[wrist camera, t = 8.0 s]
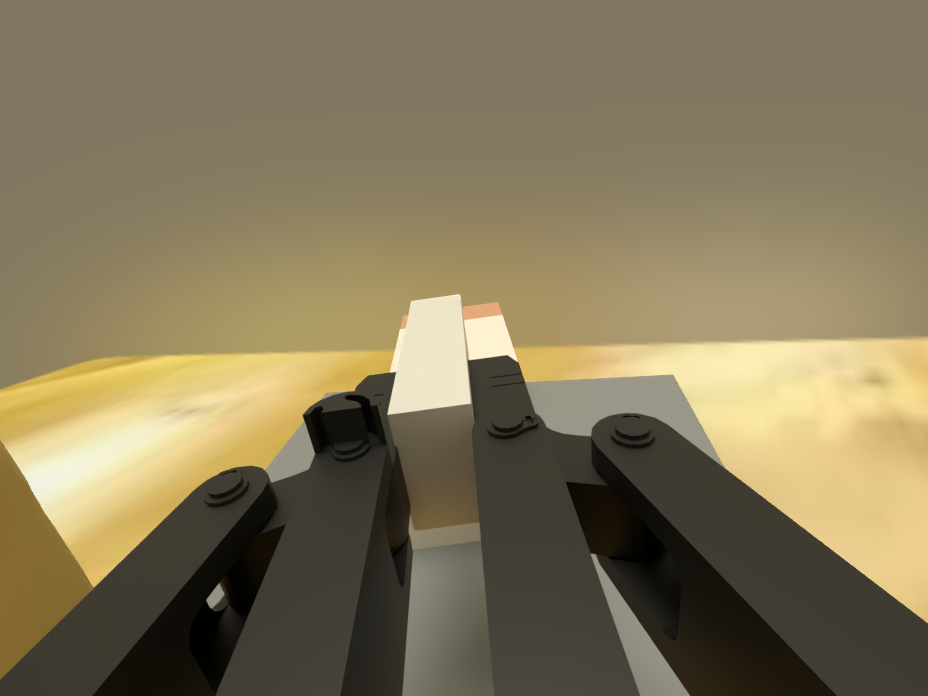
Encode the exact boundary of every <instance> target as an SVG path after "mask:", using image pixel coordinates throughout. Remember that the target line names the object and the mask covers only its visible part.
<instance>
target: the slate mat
mask: <svg viewBox="0 0 928 696" xmlns="http://www.w3.org/2000/svg"><path fill="white" fill-rule="evenodd" d="M525 384H526V387H527V390H528V393H529V396H530V399H531V402H532V405H533V408H534V411H535V413H536V414H538V415H539V416H540V417H541V418H542V420H543V421H544V422H545V425H546V427H547V428H549V429H551V430H553V431H556V432H560V433H563V434H570V435H580V436H591V432H592V427H593V426H594V425H595V424H596V423H597V422H598V421H599V420H601V419H603V418H605V417H608V416H610V415H615V414H622V413H638V414H643V415H647V416H651V417H655V418H657V419H659V420H660V421H662V422H664V423H666V424H668V425H669V426H670V427H672V428H673V429H674V430H675V431H677V432H678V433H679V434H681V435H682V436H683V437H685V438H686V439H687V440H689V441H690V442H691V443H692V444H694V445H695V446H696V447H698V448H699V449H700V450H702V451H703V452H704V453H706V454H707V455H708V456H709V457H711V458H712V459H713V460H715V461H716V462H717V463H719V464H720V465H721V466H723V464H722V462H721V460H720V459H719V457H718V455H717V453H716V451H715V450H714V448H713V446H712V444H711V442H710V441H709V439H708V437H707V435H706V433H705V432H704V430H703V428H702V426H701V424H700V423H699V421H698V419H697V417H696V415H695V414H694V412H693V410H692V408H691V406H690V405H689V403H688V401H687V399H686V397H685V396H684V394H683V392H682V390H681V388H680V387H679V385H678V383H677V381H676V379H675V378H674V376H673V375H658V376H639V377H620V378H601V379H582V380H563V381H544V382H526V383H525ZM339 393H344V392H336V393H326V394H325V395H324V397H323V398H322V399H325V398H327V397H329V396H332V395H335V394H339ZM322 399H321V400H322ZM314 455H315V452H314V449H313V446H312V443H311V440H310V437H309V433H308V430H307V427H306V424H305V421H304V422H303V423H302V424H301V426H300V427H299V428H298V429H297V431H296V432H295V433H294V435H293V436H292V437H291V438H290V440H289V441H288V442H287V443H286V445H285V446H284V447H283V448H282V450H281V451H280V452H279V453H278V455H277V456H276V457H275V458H274V460H273V461H272V462H271V464H270V465H269V466H268V467H267V469H266V470H265V471H266V472H267V473H268V475H269V478H270V481H271V483H272V482H275V481H278V480H281V479H284V478H287V477H290V476H293V475H296V474H298V473H301V472H303V471H306V470H308V469H309V467H310V465H311V463H312V460H313V458H314ZM723 467H724V466H723ZM591 556H592V559H593V562H594V565H595V568H596V571H597V573H598V576H599V579H600V582H601V585H602V588H603V591H604V593H605V596H606V599H607V602H608V605H609V608H610V611H611V613H612V616H613V619H614V622H615V625H616V628H617V631H618V633H619V636H620V639H621V642H622V645H623V648H624V651H625V653H626V656H627V659H628V662H629V665H630V668H631V671H632V674H633V676H634V679H635V682H636V685H637V688H638V691H639V694H640V696H690V695H689V694H688V692H687V691H686V689H685V688H684V686H683V685H682V683H681V682H680V680H679V679H678V678H677V676H676V675H675V673H674V672H673V670H672V669H671V667H670V666H669V664H668V663H667V662H666V660H665V659H664V657H663V656H662V654H661V653H660V651H659V650H658V648H657V647H656V646H655V644H654V643H653V641H652V640H651V638H650V637H649V635H648V634H647V632H646V631H645V630H644V628H643V627H642V625H641V624H640V622H639V621H638V619H637V618H636V616H635V615H634V614H633V612H632V611H631V609H630V608H629V606H628V605H627V603H626V602H625V600H624V599H623V598H622V596H621V595H620V593H619V592H618V590H617V589H616V587H615V586H614V584H613V583H612V582H611V580H610V579H609V577H608V576H607V574H606V573H605V571H604V570H603V568H602V567H601V566H600V564H599V562H598V559H597V557H596V555H595V554H591ZM223 596H224V592H223V590H222V588H221V586H220V584H218V585H217V587H216V588H215V589H214V591H213V592H212V593H211V595H210V596H209V597H208V598H207V600H206V601H207V603H208V605H209V607H210V608H211V609H212V608H213V607H214V606H215V605H216V604H217V603H218V602H219V601H220V600H221V598H222V597H223ZM402 696H494V686H493V675H492V663H491V652H490V640H489V628H488V617H487V605H486V594H485V582H484V570H483V559H482V547H481V541H476V542H469V543H461V544H453V545H446V546H438V547H430V548H423V549H415V550H413V560H412V573H411V587H410V600H409V613H408V627H407V640H406V654H405V667H404V680H403V694H402Z"/></svg>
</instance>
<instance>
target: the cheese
mask: <svg viewBox="0 0 928 696" xmlns="http://www.w3.org/2000/svg"><path fill="white" fill-rule="evenodd" d="M93 589H94V588H93V587H92V585H91V583H90V581H89V580H88V578H87V576H86V575H85V573H84V571H83V570H82V568H81V566H80V565H79V563H78V562H77V560H76V559H75V557H74V556H73V554H72V553H71V551H70V550H69V548H68V547H67V545H66V544H65V542H64V541H63V539H62V538H61V536H60V535H59V533H58V532H57V530H56V529H55V527H54V526H53V524H52V523H51V521H50V520H49V518H48V517H47V516H46V514H45V513H44V511H43V509H42V507H41V506H40V504H39V502H38V501H37V499H36V497H35V495H34V494H33V492H32V490H31V488H30V486H29V484H28V482H27V480H26V479H25V477H24V476H23V474H22V472H21V471H20V469H19V468H18V466H17V464H16V463H15V461H14V460H13V458H12V457H11V455H10V454H9V452H8V451H7V449H6V448H5V446H4V445H3V443H2V442H1V440H0V679H1V678H2V677H3V676H4V675H6V674H7V673H8V672H9V671H10V670H11V669H12V668H13V667H14V666H15V665H16V664H17V663H18V662H19V661H20V660H21V659H22V658H23V657H24V656H25V655H26V654H27V653H28V652H29V651H30V650H31V649H32V648H33V647H34V646H35V645H36V644H37V643H38V642H39V641H40V640H41V639H42V638H43V637H44V636H45V635H46V634H47V633H49V632H50V631H51V630H52V629H53V628H54V627H55V626H56V625H57V624H58V623H59V622H60V621H61V620H62V619H63V618H64V617H65V616H66V615H67V614H68V613H69V612H70V611H71V610H72V609H73V608H74V607H75V606H76V605H77V604H78V603H79V602H80V601H81V600H82V599H83V598H84V597H85V596H86V595H87V594H88V593H89V592H90V591H92V590H93Z"/></svg>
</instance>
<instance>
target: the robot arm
mask: <svg viewBox="0 0 928 696" xmlns="http://www.w3.org/2000/svg"><path fill="white" fill-rule="evenodd" d="M303 418H304V421H305V424H306V427H307V430H308V433H309V437H310V440H311V443H312V446H313V449H314V452H315V455H314V458H313V460H312V463H311V465H310V467H309V469H308V470H306V471H303V472H301V473H298V474H296V475H293V476H290V477H287V478H284V479H281V480H278V481H275V482H272V483H271V481H270V478H269V475H268V473H267V472H266V471H265V470H263V469H262V468H260V467H255V466H245V467H236V468H232V469H230V470H226V471H223V472H220V473H219V474H218V475H216V476H214V477H212V478H210V479H208V480H207V481H205V482H204V483H203V484H201V485H200V486H199V487H198V488H196V489H195V490H194V491H193V492H192V493H191V494H190V495H189V496H188V497H187V498H186V499H185V500H184V501H183V502H182V503H181V504H180V505H179V506H178V507H177V508H175V509H174V510H173V511H172V512H171V513H170V514H169V515H168V516H167V517H166V518H165V519H164V520H163V521H162V522H161V523H160V524H159V525H158V526H157V527H156V528H155V529H154V530H153V531H152V532H151V533H150V534H149V535H148V536H147V537H146V538H145V539H144V540H143V541H142V542H141V543H140V544H139V545H138V546H137V547H136V548H135V549H134V550H132V551H131V552H130V553H129V554H128V555H127V556H126V557H125V558H124V559H123V560H122V561H121V562H120V563H119V564H118V565H117V566H116V567H115V568H114V569H113V570H112V571H111V572H110V573H109V574H108V575H107V576H106V577H105V578H104V579H103V580H102V581H101V582H100V583H99V584H98V585H97V586H96V587H95V588H94V589H93V590H92V591H90V592H89V593H88V594H87V595H86V596H85V597H84V598H83V599H82V600H81V601H80V602H79V603H78V604H77V605H76V606H75V607H74V608H73V609H72V610H71V611H70V612H69V613H68V614H67V615H66V616H65V617H64V618H63V619H62V620H61V621H60V622H59V623H58V624H57V625H56V626H55V627H54V628H53V629H52V630H51V631H50V632H49V633H47V634H46V635H45V636H44V637H43V638H42V639H41V640H40V641H39V642H38V643H37V644H36V645H35V646H34V647H33V648H32V649H31V650H30V651H29V652H28V653H27V654H26V655H25V656H24V657H23V658H22V659H21V660H20V661H19V662H18V663H17V664H16V665H15V666H14V667H13V668H12V669H11V670H10V671H9V672H8V673H7V674H6V675H4V676H3V677H2V678H1V679H0V696H402V694H403V680H404V667H405V654H406V640H407V627H408V613H409V600H410V587H411V573H412V560H413V549H412V543H411V539H410V535H409V531H408V530H409V520H410V515H411V519H412V523H413V527H414V531H417V530H425V529H433V528H440V527H448V526H455V525H463V524H471V523H478V522H479V524H480V536H481V547H482V559H483V570H484V582H485V594H486V605H487V617H488V628H489V640H490V652H491V663H492V675H493V686H494V696H640V694H639V691H638V688H637V685H636V682H635V679H634V676H633V674H632V671H631V668H630V665H629V662H628V659H627V656H626V653H625V651H624V648H623V645H622V642H621V639H620V636H619V633H618V631H617V628H616V625H615V622H614V619H613V616H612V613H611V611H610V608H609V605H608V602H607V599H606V596H605V593H604V591H603V588H602V585H601V582H600V579H599V576H598V573H597V571H596V568H595V565H594V562H593V559H592V556H591V554H595V555H596V557H597V559H598V562H599V564H600V566H601V567H602V568H603V570H604V571H605V573H606V574H607V576H608V577H609V579H610V580H611V582H612V583H613V584H614V586H615V587H616V589H617V590H618V592H619V593H620V595H621V596H622V598H623V599H624V600H625V602H626V603H627V605H628V606H629V608H630V609H631V611H632V612H633V614H634V615H635V616H636V618H637V619H638V621H639V622H640V624H641V625H642V627H643V628H644V630H645V631H646V632H647V634H648V635H649V637H650V638H651V640H652V641H653V643H654V644H655V646H656V647H657V648H658V650H659V651H660V653H661V654H662V656H663V657H664V659H665V660H666V662H667V663H668V664H669V666H670V667H671V669H672V670H673V672H674V673H675V675H676V676H677V678H678V679H679V680H680V682H681V683H682V685H683V686H684V688H685V689H686V691H687V692H688V694H689V695H690V696H928V623H926V622H925V621H924V620H923V619H921V618H920V617H919V616H917V615H916V614H915V613H913V612H912V611H911V610H909V609H908V608H907V607H906V606H904V605H903V604H902V603H900V602H899V601H898V600H896V599H895V598H894V597H892V596H891V595H890V594H889V593H887V592H886V591H885V590H883V589H882V588H881V587H879V586H878V585H877V584H875V583H874V582H873V581H872V580H870V579H869V578H868V577H866V576H865V575H864V574H862V573H861V572H860V571H858V570H857V569H856V568H855V567H853V566H852V565H851V564H849V563H848V562H847V561H845V560H844V559H843V558H841V557H840V556H839V555H838V554H836V553H835V552H834V551H832V550H831V549H830V548H828V547H827V546H826V545H824V544H823V543H822V542H821V541H819V540H818V539H817V538H815V537H814V536H813V535H811V534H810V533H809V532H807V531H806V530H805V529H804V528H802V527H801V526H800V525H798V524H797V523H796V522H794V521H793V520H792V519H791V518H789V517H788V516H787V515H785V514H784V513H783V512H781V511H780V510H779V509H777V508H776V507H775V506H774V505H772V504H771V503H770V502H768V501H767V500H766V499H764V498H763V497H762V496H760V495H759V494H758V493H757V492H755V491H754V490H753V489H751V488H750V487H749V486H747V485H746V484H745V483H743V482H742V481H741V480H740V479H738V478H737V477H736V476H734V475H733V474H732V473H730V472H729V471H728V470H726V469H725V468H724V467H723V466H721V465H720V464H719V463H717V462H716V461H715V460H713V459H712V458H711V457H709V456H708V455H707V454H706V453H704V452H703V451H702V450H700V449H699V448H698V447H696V446H695V445H694V444H692V443H691V442H690V441H689V440H687V439H686V438H685V437H683V436H682V435H681V434H679V433H678V432H677V431H675V430H674V429H673V428H672V427H670V426H669V425H668V424H666V423H664V422H662V421H660V420H659V419H657V418H655V417H651V416H647V415H643V414H638V413H622V414H615V415H610V416H608V417H605V418H603V419H601V420H599V421H598V422H597V423H596V424H595V425H594V426H593V427H592V432H591V436H580V435H570V434H563V433H560V432H556V431H553V430H551V429H549V428H547V427H546V425H545V422H544V421H543V420H542V418H541V417H540V416H539V415H538V414H536V413H535V411H534V408H533V405H532V402H531V399H530V396H529V393H528V390H527V387H526V384H525V381H524V378H523V375H522V372H521V369H520V366H519V363H518V362H517V361H515V360H514V359H512V358H511V357H510V356H508V355H503V356H496V357H489V358H482V359H474V360H470V359H469V352H468V345H467V338H466V331H465V324H464V317H463V310H462V304H461V297H460V295H459V294H458V295H451V296H444V297H438V298H430V299H423V300H416V301H411V305H410V310H409V315H408V319H407V324H406V329H405V334H404V338H403V343H402V348H401V352H400V357H399V362H398V367H397V371H396V372H391V373H384V374H377V375H370V376H367V377H366V378H365V379H364V380H363V381H362V382H361V383H360V384H359V385H358V386H357V387H356V389H355V391H352V392H344V393H339V394H335V395H332V396H329V397H327V398H325V399H322V400H320V401H318V402H317V403H315V404H314V405H312V406H311V407H309V408H308V410H307V411H306V412H305V413H304V414H303ZM218 584H220V586H221V588H222V590H223V592H224V596H223V597H222V598H221V600H220V601H219V602H218V603H217V604H216V605H215V606H214V607H213V608H212V609H211V608H210V607H209V605H208V603H207V601H206V600H207V598H208V597H209V596H210V595H211V593H212V592H213V591H214V589H215V588H216V587H217V585H218Z"/></svg>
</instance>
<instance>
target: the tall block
mask: <svg viewBox="0 0 928 696" xmlns="http://www.w3.org/2000/svg"><path fill="white" fill-rule="evenodd" d="M462 310H463V317H464V324H465V331H466V338H467V345H468V352H469V359H470V360H474V359H482V358H489V357H496V356H503V355H508V356H510V357H511V358H512V359H514V360H515V361H517V358H516V355H515V352H514V349H513V346H512V343H511V340H510V337H509V334H508V331H507V328H506V325H505V322H504V319H503V316H502V313H501V310H500V307H499V304H498V302H495V303H488V304H482V305H474V306H467V307H462ZM407 319H408V315H404V316H403V320H402V324H401V328H400V332H399V337H398V341H397V345H396V349H395V353H394V357H393V362H392V366H391V370H390V373H391V372H396V371H397V367H398V362H399V357H400V352H401V348H402V343H403V338H404V334H405V329H406V324H407ZM517 362H518V361H517ZM408 531H409V535H410V539H411V543H412V549H413V550H415V549H423V548H430V547H438V546H446V545H453V544H461V543H469V542H476V541H481V536H480V524H479V522H478V523H471V524H463V525H455V526H448V527H440V528H433V529H425V530H417V531H414V527H413V523H412V519H411V515H410V520H409V530H408Z"/></svg>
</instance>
